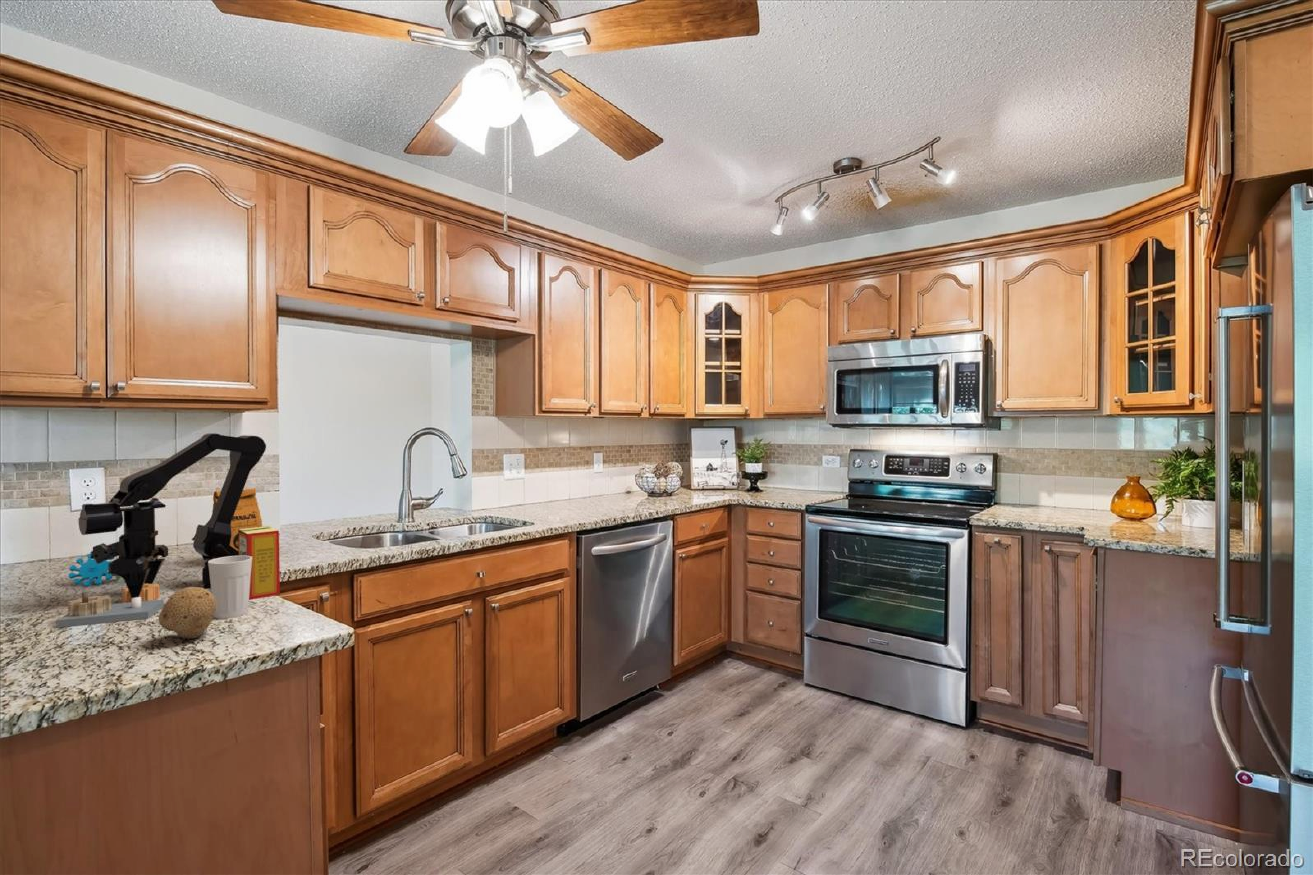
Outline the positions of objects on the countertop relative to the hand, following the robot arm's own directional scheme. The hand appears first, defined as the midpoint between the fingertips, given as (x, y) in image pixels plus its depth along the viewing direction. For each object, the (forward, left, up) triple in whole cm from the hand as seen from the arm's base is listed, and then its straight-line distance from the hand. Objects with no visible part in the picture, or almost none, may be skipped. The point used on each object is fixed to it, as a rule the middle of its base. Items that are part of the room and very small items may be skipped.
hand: (141, 594), depth 148 cm
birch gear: (+5, +13, 0) cm, 14 cm away
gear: (+16, -23, -2) cm, 28 cm away
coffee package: (-13, -35, -2) cm, 37 cm away
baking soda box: (-25, +4, -1) cm, 25 cm away
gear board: (+1, +13, -1) cm, 13 cm away
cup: (-22, +21, -1) cm, 30 cm away
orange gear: (0, 0, -1) cm, 1 cm away
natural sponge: (-18, +36, -1) cm, 40 cm away
